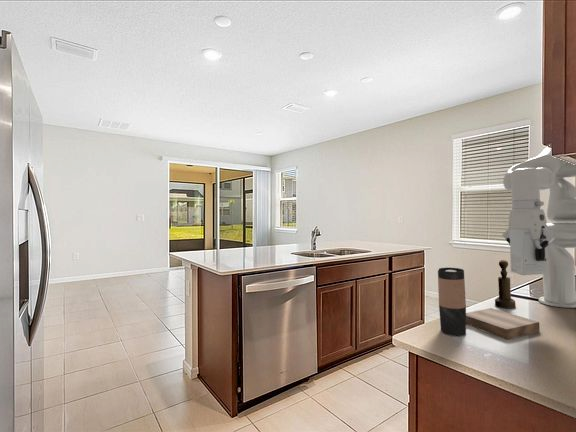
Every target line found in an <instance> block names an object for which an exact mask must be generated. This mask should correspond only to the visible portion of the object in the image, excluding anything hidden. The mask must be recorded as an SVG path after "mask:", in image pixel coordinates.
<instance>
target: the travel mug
mask: <svg viewBox="0 0 576 432" xmlns="http://www.w3.org/2000/svg"><path fill="white" fill-rule="evenodd" d="M437 282H438V283H437V284H438V290H437V291H438V311H439V321H440V322H439V323H440V331H441V333H443V334H444V335H446V336H447V335H448V336H451V337H464V336H466V334H467V324H466V313H467V304H466V303H467V300H466V286H465V285H466V283H465V270H464V269H463V268H458V267H440V268H438V270H437Z"/></svg>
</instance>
